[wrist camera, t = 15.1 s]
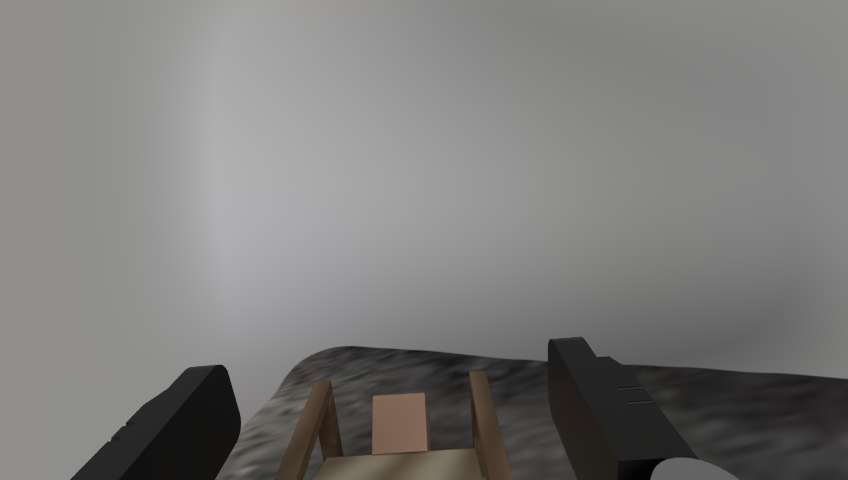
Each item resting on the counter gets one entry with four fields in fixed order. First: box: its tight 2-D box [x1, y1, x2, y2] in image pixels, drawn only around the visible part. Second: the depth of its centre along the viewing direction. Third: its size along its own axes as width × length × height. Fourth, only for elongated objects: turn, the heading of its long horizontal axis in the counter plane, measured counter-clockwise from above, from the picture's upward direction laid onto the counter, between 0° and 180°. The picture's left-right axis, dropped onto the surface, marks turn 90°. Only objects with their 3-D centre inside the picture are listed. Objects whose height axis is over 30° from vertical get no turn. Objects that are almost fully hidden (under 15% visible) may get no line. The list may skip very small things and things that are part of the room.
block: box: [372, 393, 431, 455], centre depth 42 cm, size 5×5×10 cm
